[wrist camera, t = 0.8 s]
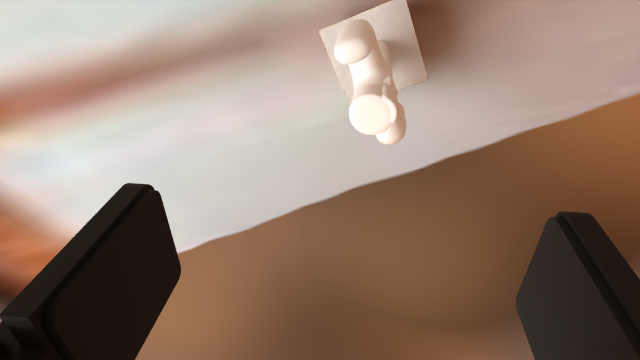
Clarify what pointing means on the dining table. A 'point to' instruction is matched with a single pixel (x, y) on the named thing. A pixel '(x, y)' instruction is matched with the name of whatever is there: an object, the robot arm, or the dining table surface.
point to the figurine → (376, 66)
